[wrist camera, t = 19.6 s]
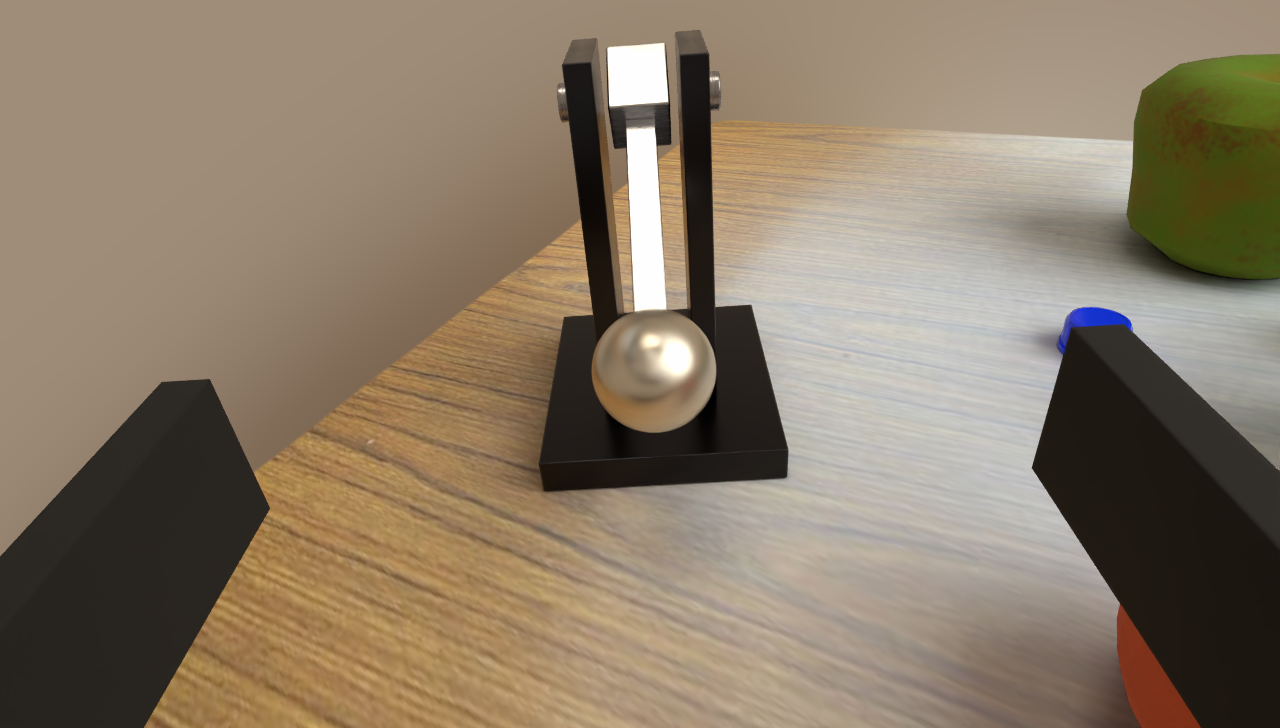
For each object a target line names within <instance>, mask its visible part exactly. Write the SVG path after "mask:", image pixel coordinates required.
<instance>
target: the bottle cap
mask: <svg viewBox="0 0 1280 728" xmlns="http://www.w3.org/2000/svg"><path fill="white" fill-rule="evenodd" d="M1116 324H1124V325H1126V326H1127V327H1128V328H1129V329H1130V330H1131V331H1132V332H1133V327H1132V324H1131V322H1130V320H1129V319H1128V318H1127V317H1125V316H1124V315H1122V314H1120V313H1118V312H1116V311H1113V310H1109V309H1105V308H1099V307H1082V308H1078V309H1075V310H1073V311H1072V312H1071V313H1070V314H1069V315H1068V316H1067V317H1066V319H1065V323H1064V327H1063V330H1062V334H1061V335H1060V336H1059V339H1058V342H1057V347H1058V349H1059V350H1060V352H1061V353H1062V354H1064V351H1065V348H1066V344H1067V341H1068V337H1069V334H1070V330H1071V327H1083V326H1100V325H1116Z"/></svg>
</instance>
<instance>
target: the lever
mask: <svg viewBox="0 0 1280 728" xmlns="http://www.w3.org/2000/svg"><path fill="white" fill-rule="evenodd" d="M606 62H607V91H608V110H609V117H610V124H611V131H612V137H613V144H614V148H615V149H623V148H626V151H627V175H628V199H629V221H630V244H631V267H632V290H633V312H631V313H629V314H627V315H625V316H623V317H621V318H620V319H618V320H617V321H615V322H614V323H613V324H612V325H611V326H610V327H609V328H608V329H607V330H606V331H605V333H604V334H603V336H602V337H601V339H600V340H599V342H598V344H597V346H596V349H595V352H594V356H593V361H592V381H593V385H594V389H595V392H596V395H597V397H598V399H599V401H600V402H601V404H602V406H603V407H604V408H605V410H606V411H607V412H608V413H609V414H610V415H611V416H612V417H613V418H614V419H616V420H617V421H618V422H620V423H621V424H623V425H625V426H627V427H629V428H631V429H634V430H637V431H641V432H648V433H660V432H667V431H671V430H674V429H677V428H679V427H681V426H683V425H685V424H687V423H688V422H690V421H691V420H692V419H694V418H695V417H696V416H697V415H698V414H699V413H700V412H701V411H702V409H703V408H704V407H705V406H706V404H707V402H708V401H709V399H710V397H711V394H712V392H713V388H714V385H715V380H716V362H715V356H714V352H713V349H712V347H711V345H710V343H709V341H708V339H707V337H706V336H705V334H704V333H703V332H702V330H701V329H700V328H699V327H698V326H697V325H696V324H695V323H694V322H692V321H691V320H690V319H688V318H687V317H685V316H683V315H681V314H679V313H677V312H674V311H671V310H667V298H666V282H665V266H664V250H663V234H662V217H661V201H660V185H659V169H658V155H657V146H662V145H671V121H670V97H669V83H668V70H667V55H666V44H665V43H664V42H663V43H650V44H637V45H625V46H612V47H607V48H606Z"/></svg>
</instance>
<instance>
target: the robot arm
mask: <svg viewBox="0 0 1280 728" xmlns="http://www.w3.org/2000/svg"><path fill="white" fill-rule="evenodd" d="M1032 469H1033V470H1034V472H1035V474H1036V475H1037V477H1038V478H1039V480H1040V481H1041V483H1042V484H1043V486H1044V487H1045V489H1046V490H1047V492H1048V494H1049V495H1050V497H1051V498H1052V500H1053V501H1054V503H1055V504H1056V506H1057V507H1058V509H1059V510H1060V512H1061V514H1062V515H1063V517H1064V518H1065V520H1066V521H1067V523H1068V524H1069V526H1070V527H1071V529H1072V530H1073V532H1074V533H1075V535H1076V537H1077V538H1078V540H1079V541H1080V543H1081V544H1082V546H1083V547H1084V549H1085V550H1086V552H1087V553H1088V555H1089V557H1090V558H1091V560H1092V561H1093V563H1094V564H1095V566H1096V567H1097V569H1098V570H1099V572H1100V573H1101V575H1102V577H1103V578H1104V580H1105V581H1106V583H1107V584H1108V586H1109V587H1110V589H1111V590H1112V592H1113V593H1114V595H1115V597H1116V598H1117V600H1118V601H1119V603H1120V604H1121V606H1122V607H1123V609H1124V610H1125V612H1126V613H1127V615H1128V616H1129V618H1130V620H1131V621H1132V623H1133V624H1134V626H1135V627H1136V629H1137V630H1138V632H1139V633H1140V635H1141V636H1142V638H1143V640H1144V641H1145V643H1146V644H1147V646H1148V647H1149V649H1150V650H1151V652H1152V653H1153V655H1154V656H1155V658H1156V660H1157V661H1158V663H1159V664H1160V666H1161V667H1162V669H1163V670H1164V672H1165V673H1166V675H1167V676H1168V678H1169V680H1170V681H1171V683H1172V684H1173V686H1174V687H1175V689H1176V690H1177V692H1178V693H1179V695H1180V696H1181V698H1182V699H1183V701H1184V703H1185V704H1186V706H1187V707H1188V709H1189V710H1190V712H1191V713H1192V715H1193V716H1194V718H1195V719H1196V721H1197V723H1198V724H1199V726H1200V727H1201V728H1280V471H1279V470H1278V469H1277V468H1275V467H1274V466H1273V465H1272V464H1271V463H1270V462H1269V461H1268V460H1267V459H1266V458H1265V457H1264V456H1263V455H1262V454H1261V453H1260V452H1259V451H1258V450H1256V449H1255V448H1254V447H1253V446H1252V445H1251V444H1250V443H1249V442H1248V441H1247V440H1246V439H1245V438H1244V437H1243V436H1242V435H1241V434H1240V433H1239V432H1237V431H1236V430H1235V429H1234V428H1233V427H1232V426H1231V425H1230V424H1229V423H1228V422H1227V421H1226V420H1225V419H1224V418H1223V417H1222V416H1221V415H1220V414H1218V413H1217V412H1216V411H1215V410H1214V409H1213V408H1212V407H1211V406H1210V405H1209V404H1208V403H1207V402H1206V401H1205V400H1204V399H1203V398H1202V397H1201V396H1199V395H1198V394H1197V393H1196V392H1195V391H1194V390H1193V389H1192V388H1191V387H1190V386H1189V385H1188V384H1187V383H1186V382H1185V381H1184V380H1183V379H1182V378H1180V377H1179V376H1178V375H1177V374H1176V373H1175V372H1174V371H1173V370H1172V369H1171V368H1170V367H1169V366H1168V365H1167V364H1166V363H1165V362H1164V361H1162V360H1161V359H1160V358H1159V357H1158V356H1157V355H1156V354H1155V353H1154V352H1153V351H1152V350H1151V349H1150V348H1149V347H1148V346H1147V345H1146V344H1145V343H1143V342H1142V341H1141V340H1140V339H1139V338H1138V337H1137V336H1136V335H1135V334H1134V333H1133V332H1132V331H1131V330H1130V329H1129V328H1128V327H1127V326H1126V325H1124V324H1116V325H1100V326H1083V327H1071V330H1070V334H1069V337H1068V341H1067V344H1066V348H1065V351H1064V355H1063V358H1062V362H1061V366H1060V369H1059V373H1058V376H1057V380H1056V383H1055V387H1054V391H1053V394H1052V398H1051V401H1050V405H1049V408H1048V412H1047V415H1046V419H1045V423H1044V426H1043V430H1042V433H1041V437H1040V440H1039V444H1038V448H1037V451H1036V455H1035V458H1034V462H1033V465H1032ZM269 509H270V507H269V505H268V503H267V501H266V499H265V497H264V494H263V492H262V490H261V488H260V486H259V484H258V482H257V479H256V477H255V475H254V473H253V471H252V469H251V467H250V464H249V462H248V460H247V458H246V456H245V454H244V452H243V450H242V447H241V445H240V443H239V441H238V439H237V437H236V434H235V432H234V430H233V428H232V426H231V424H230V422H229V419H228V417H227V415H226V413H225V411H224V409H223V407H222V404H221V402H220V400H219V398H218V396H217V394H216V392H215V390H214V387H213V385H212V383H211V381H210V379H205V380H188V381H171V382H161V384H160V385H159V386H158V387H157V388H156V389H155V390H154V391H153V392H152V393H151V394H150V395H149V396H148V398H147V399H146V400H145V401H144V402H143V403H142V404H141V405H140V406H139V407H138V408H137V409H136V410H135V412H134V413H133V414H132V415H131V416H130V417H129V418H128V419H127V420H126V421H125V422H124V423H123V424H122V426H121V427H120V428H119V429H118V430H117V431H116V432H115V433H114V434H113V435H112V436H111V437H110V439H109V440H108V441H107V442H106V443H105V444H104V445H103V446H102V447H101V448H100V449H99V451H97V453H96V454H95V455H94V456H93V457H92V458H91V459H90V460H89V461H88V462H87V463H86V465H85V466H84V467H83V468H82V469H81V470H80V471H79V472H78V473H77V474H76V475H75V476H74V477H73V478H72V480H71V481H70V482H69V483H68V484H67V485H66V486H65V487H64V488H63V489H62V490H61V492H60V493H59V494H58V495H57V496H56V497H55V498H54V499H53V500H52V501H51V502H50V503H49V504H48V505H47V507H46V508H45V509H44V510H43V511H42V512H41V513H40V514H39V515H38V516H37V517H36V519H34V521H33V522H32V523H31V524H30V525H29V526H28V527H27V528H26V529H25V530H24V531H23V533H22V534H21V535H20V536H19V537H18V538H17V539H16V540H15V541H14V542H13V543H12V544H11V545H10V546H9V548H8V549H7V550H6V551H5V552H4V553H3V554H2V555H1V556H0V728H144V726H145V725H146V723H147V721H148V719H149V718H150V716H151V714H152V713H153V711H154V709H155V707H156V706H157V704H158V702H159V700H160V699H161V697H162V695H163V693H164V692H165V690H166V688H167V686H168V685H169V683H170V681H171V680H172V678H173V676H174V674H175V673H176V671H177V669H178V667H179V666H180V664H181V662H182V660H183V659H184V657H185V655H186V653H187V652H188V650H189V648H190V647H191V645H192V643H193V641H194V640H195V638H196V636H197V634H198V633H199V631H200V629H201V627H202V626H203V624H204V622H205V620H206V619H207V617H208V615H209V614H210V612H211V610H212V608H213V607H214V605H215V603H216V601H217V600H218V598H219V596H220V594H221V593H222V591H223V589H224V587H225V586H226V584H227V582H228V581H229V579H230V577H231V575H232V574H233V572H234V570H235V568H236V567H237V565H238V563H239V561H240V560H241V558H242V556H243V554H244V553H245V551H246V549H247V548H248V546H249V544H250V542H251V541H252V539H253V537H254V535H255V534H256V532H257V530H258V528H259V527H260V525H261V523H262V521H263V520H264V518H265V516H266V515H267V513H268V511H269Z"/></svg>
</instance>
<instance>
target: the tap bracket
mask: <svg viewBox="0 0 1280 728" xmlns="http://www.w3.org/2000/svg"><path fill="white" fill-rule="evenodd" d="M675 47H676V48H675V49H676V70H677V92H678V114H679V134H680V157H681V179H682V200H683V222H684V243H685V265H686V287H687V308H688V309H678V310H671V311H674V312H677V313H679V314H681V315H683V316H685V317H687V318H688V319H690V320H691V321H692V322H694V323H695V324H696V325H697V326H698V327H699V328H700V329H701V330H702V332H703V333H704V334H705V336H706V337H707V339H708V341H709V343H710V345H711V347H712V349H713V352H714V356H715V362H716V380H715V385H714V388H713V392H712V394H711V397H710V399H709V401H708V402H707V404H706V406H705V407H704V408H703V409H702V411H701V412H700V413H699V414H698V415H697V416H696V417H695V418H694V419H692V420H691V421H690V422H688V423H687V424H685V425H683V426H681V427H679V428H677V429H674V430H671V431H667V432H660V433H648V432H641V431H637V430H634V429H631V428H629V427H627V426H625V425H623V424H621V423H620V422H618V421H617V420H616V419H614V418H613V417H612V416H611V415H610V414H609V413H608V412H607V411H606V410H605V408H604V407H603V406H602V404H601V402H600V401H599V399H598V397H597V395H596V392H595V389H594V385H593V381H592V361H593V356H594V352H595V349H596V346H597V344H598V342H599V340H600V339H601V337H602V336H603V334H604V333H605V331H606V330H607V329H608V328H609V327H610V326H611V325H612V324H613V323H614V322H615V321H617V320H618V319H620V318H621V317H623V316H625V315H627V314H629V313H624V305H623V295H622V285H621V275H620V265H619V255H618V244H617V234H616V224H615V214H614V204H613V194H612V184H611V174H610V164H609V154H608V143H607V133H606V124H605V113H604V103H603V92H602V82H601V72H600V62H599V52H598V42H597V39H596V38H594V39H580V40H572V42H571V44H570V47H569V49H568V52H567V54H566V57H565V59H564V62H563V64H562V69H563V77H564V83H559V84H558V86H557V100H558V108H559V114H560V119H561V121H562V122H569V125H570V133H571V141H572V149H573V157H574V166H575V173H576V181H577V189H578V197H579V206H580V214H581V222H582V230H583V238H584V246H585V254H586V262H587V270H588V278H589V286H590V294H591V302H592V310H593V315H586V316H571V317H564V320H563V326H562V331H561V337H560V343H559V349H558V355H557V361H556V366H555V372H554V378H553V384H552V390H551V396H550V401H549V407H548V413H547V419H546V425H545V431H544V436H543V442H542V448H541V454H540V460H539V468H540V473H541V479H542V484H543V489H544V491H554V490H572V489H590V488H608V487H626V486H644V485H662V484H679V483H697V482H715V481H733V480H751V479H769V478H786V477H787V472H788V446H787V442H786V438H785V435H784V431H783V427H782V423H781V419H780V415H779V411H778V407H777V403H776V399H775V395H774V391H773V388H772V384H771V380H770V376H769V372H768V368H767V364H766V360H765V356H764V352H763V348H762V345H761V341H760V337H759V333H758V329H757V325H756V321H755V317H754V313H753V309H752V306H751V305H740V306H724V307H715V280H714V238H713V195H712V152H711V111H719V110H720V107H721V84H720V74H719V72H718V71H710V68H709V53H708V50H707V47H706V45H705V42H704V39H703V37H702V34H701V31H700V30H693V31H681V32H676V33H675Z"/></svg>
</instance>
